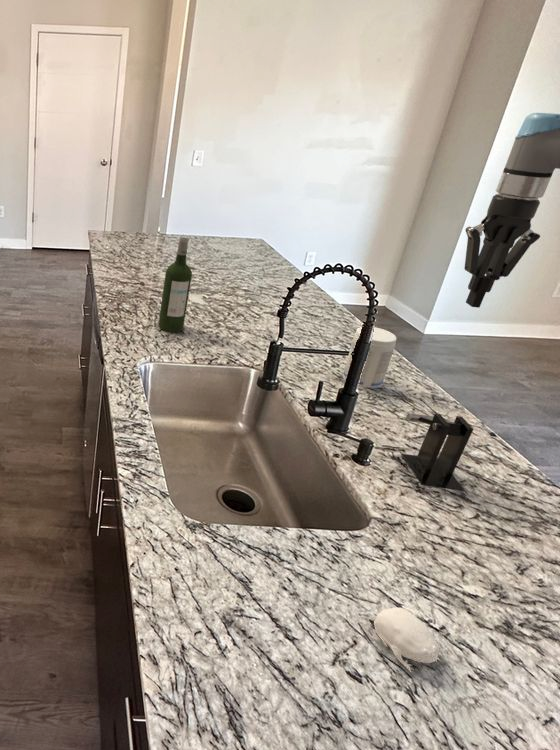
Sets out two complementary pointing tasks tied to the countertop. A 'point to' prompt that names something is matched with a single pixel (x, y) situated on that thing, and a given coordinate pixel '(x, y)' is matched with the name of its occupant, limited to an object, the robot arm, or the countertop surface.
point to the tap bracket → (440, 468)
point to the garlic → (406, 636)
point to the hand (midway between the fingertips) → (472, 304)
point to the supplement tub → (374, 357)
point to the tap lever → (453, 430)
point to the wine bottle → (176, 291)
